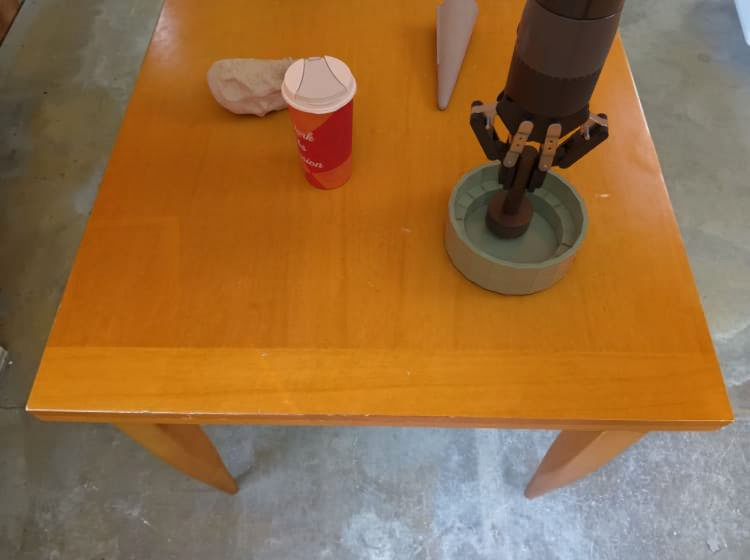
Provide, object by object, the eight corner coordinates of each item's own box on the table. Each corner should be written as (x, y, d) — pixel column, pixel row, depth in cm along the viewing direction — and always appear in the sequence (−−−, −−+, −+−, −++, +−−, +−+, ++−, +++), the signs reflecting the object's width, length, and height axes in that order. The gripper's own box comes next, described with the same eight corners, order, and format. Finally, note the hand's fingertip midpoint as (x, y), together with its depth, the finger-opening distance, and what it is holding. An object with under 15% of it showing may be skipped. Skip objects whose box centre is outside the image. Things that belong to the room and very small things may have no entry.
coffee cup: (293, 153, 76) (276, 56, 63) (354, 145, 77) (349, 47, 64) (300, 201, 71) (283, 107, 59) (365, 192, 72) (362, 97, 59)
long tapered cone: (484, 90, 76) (479, -7, 84) (436, 94, 77) (435, -3, 85) (482, 120, 81) (478, 26, 90) (437, 123, 82) (437, 29, 90)
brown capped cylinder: (538, 225, 67) (565, 155, 57) (505, 246, 65) (527, 178, 56) (508, 197, 69) (529, 126, 59) (475, 217, 68) (491, 147, 58)
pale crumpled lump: (199, 121, 82) (226, 114, 69) (192, 67, 80) (218, 49, 67) (298, 117, 89) (340, 110, 76) (294, 68, 87) (336, 52, 74)
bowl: (599, 253, 67) (617, 221, 62) (504, 321, 62) (516, 293, 57) (510, 175, 74) (519, 141, 68) (417, 231, 69) (421, 199, 64)
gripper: (475, 66, 46) (451, 204, 60) (652, 83, 45) (584, 220, 59) (480, 10, 50) (457, 153, 64) (643, 25, 48) (581, 167, 63)
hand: (518, 184), depth 62 cm, fingers closed on brown capped cylinder
